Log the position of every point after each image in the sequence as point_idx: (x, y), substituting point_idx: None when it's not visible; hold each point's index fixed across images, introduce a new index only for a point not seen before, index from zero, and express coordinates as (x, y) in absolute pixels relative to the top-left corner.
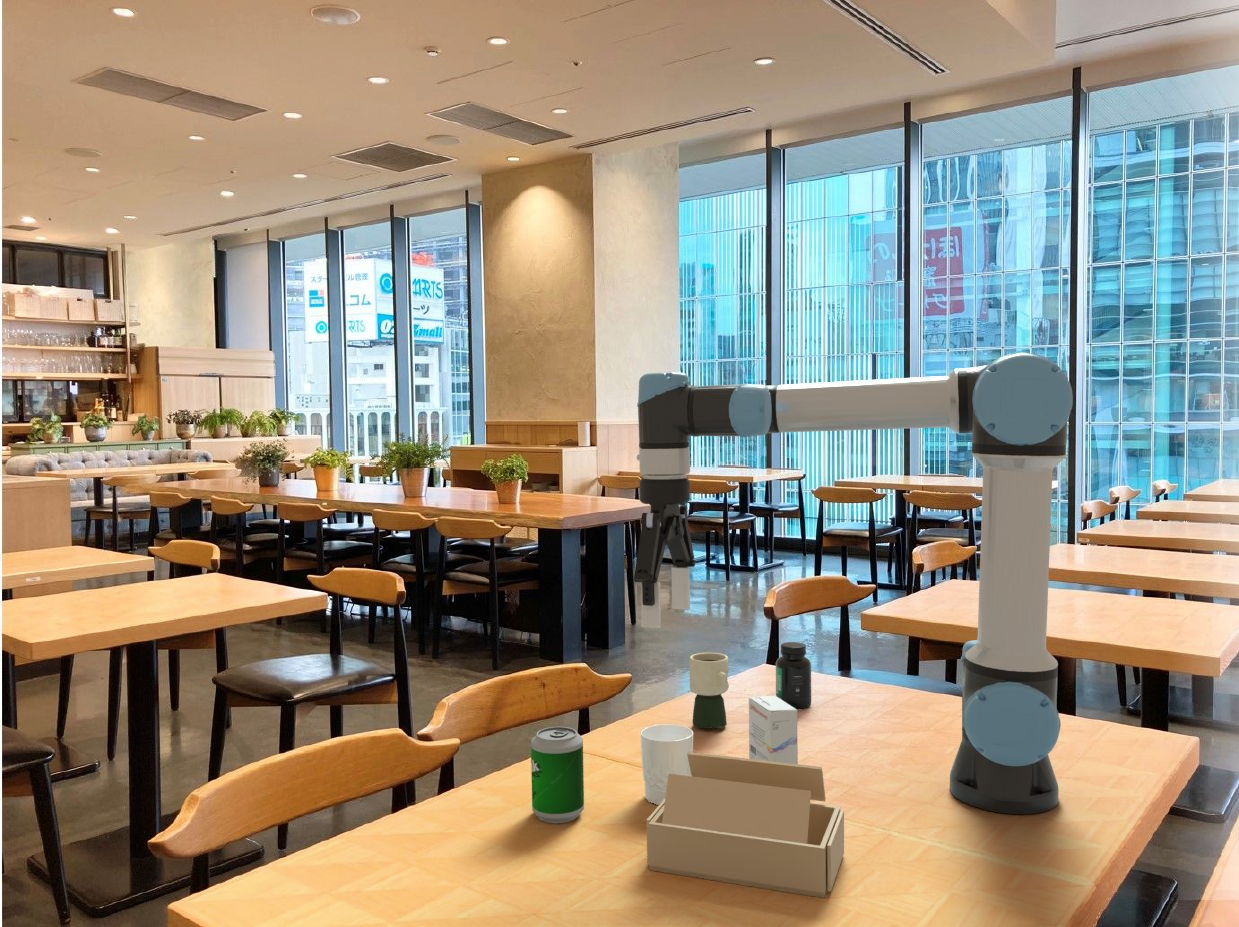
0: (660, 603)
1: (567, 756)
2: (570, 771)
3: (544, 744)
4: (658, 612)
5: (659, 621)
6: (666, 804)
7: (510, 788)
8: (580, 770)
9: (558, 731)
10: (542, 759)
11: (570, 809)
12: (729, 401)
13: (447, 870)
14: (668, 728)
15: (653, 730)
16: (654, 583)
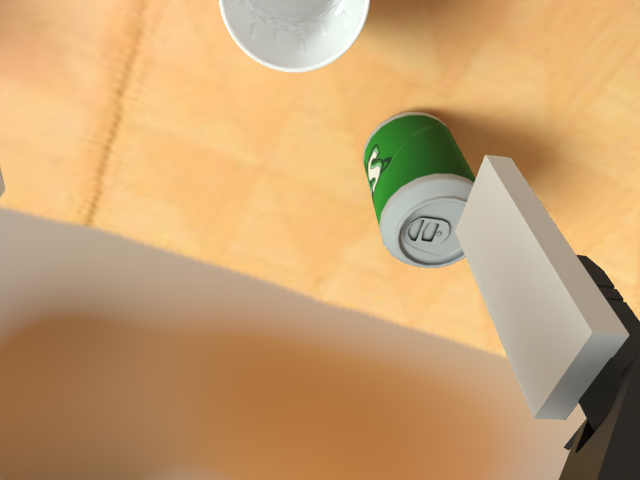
0: (529, 229)
1: None
2: (466, 164)
3: None
4: (539, 205)
5: (515, 174)
6: None
7: (308, 245)
8: (441, 149)
9: (419, 235)
10: None
11: (447, 129)
12: None
13: (595, 225)
14: (227, 5)
15: (249, 44)
16: (609, 352)
